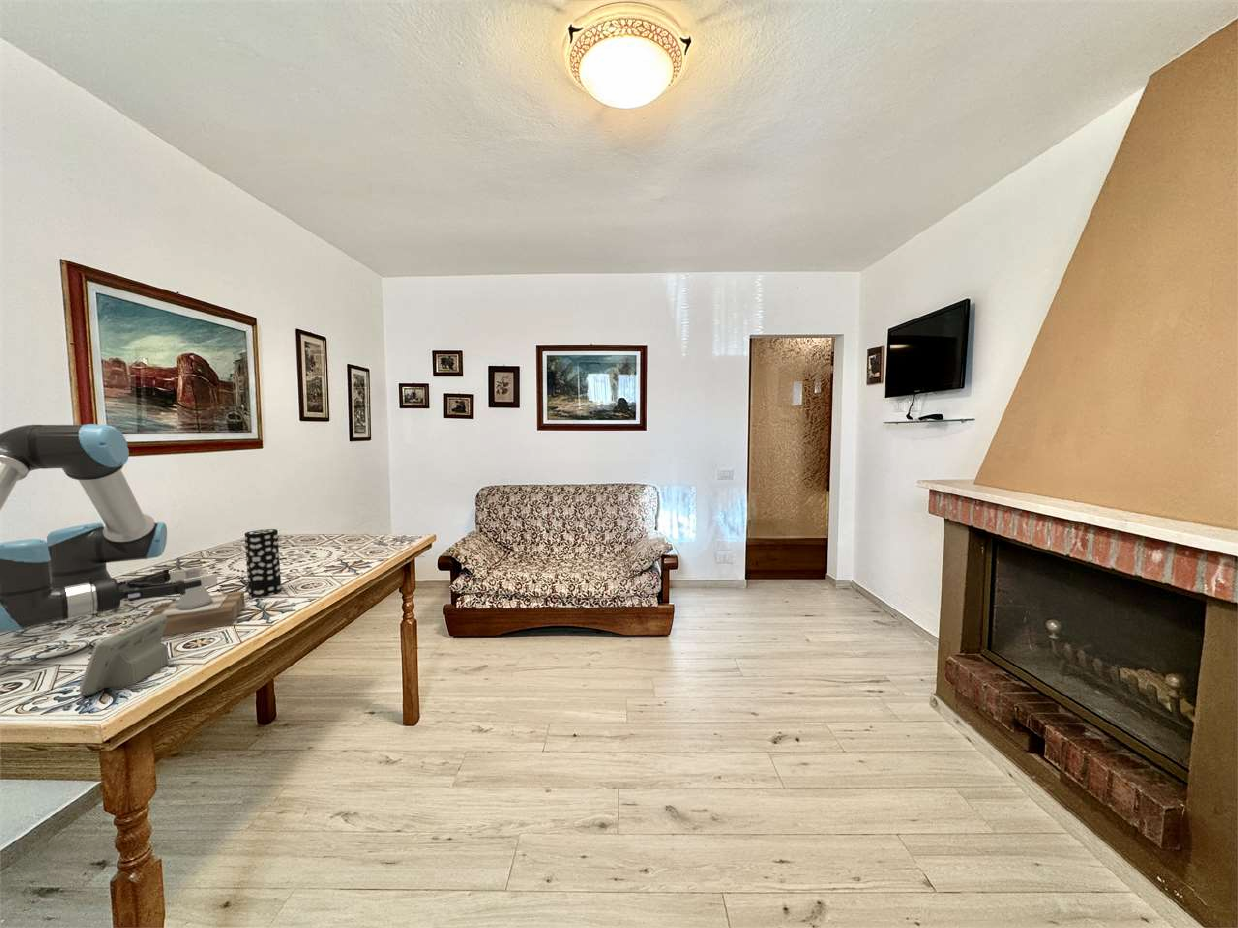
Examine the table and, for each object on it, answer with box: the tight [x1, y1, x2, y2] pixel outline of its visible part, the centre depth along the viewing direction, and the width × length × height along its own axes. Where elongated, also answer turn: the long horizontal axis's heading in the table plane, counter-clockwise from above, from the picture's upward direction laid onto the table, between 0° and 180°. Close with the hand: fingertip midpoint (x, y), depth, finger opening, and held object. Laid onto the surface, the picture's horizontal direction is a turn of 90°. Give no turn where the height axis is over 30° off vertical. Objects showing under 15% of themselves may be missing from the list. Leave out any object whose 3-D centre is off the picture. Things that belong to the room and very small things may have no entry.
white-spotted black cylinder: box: [244, 528, 282, 598], centre depth 147 cm, size 8×8×20 cm
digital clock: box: [79, 614, 169, 696], centre depth 96 cm, size 16×9×11 cm, turn 179°
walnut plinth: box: [140, 590, 245, 638], centre depth 126 cm, size 18×18×4 cm
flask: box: [176, 567, 213, 609], centre depth 125 cm, size 7×7×10 cm
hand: (209, 574), depth 128 cm, fingers open, 13 cm apart
